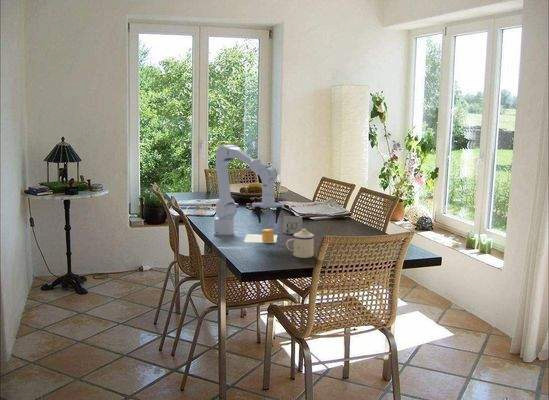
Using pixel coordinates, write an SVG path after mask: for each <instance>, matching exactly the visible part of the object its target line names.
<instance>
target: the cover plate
mask: <svg viewBox="0 0 549 400" xmlns="http://www.w3.org/2000/svg"><path fill="white" fill-rule="evenodd" d="M277 240H278V234H274V241H272V242H264V241H262V234H257V233H256V234H255V233H254V234H253V233H251V234H249V233H246V234H245V237H244V240H243V243H261V244H262V243H263V244H265V243H266V244H267V243H268V244H269V243H270V244H271V243H272V244H276V243H277Z"/></svg>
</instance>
